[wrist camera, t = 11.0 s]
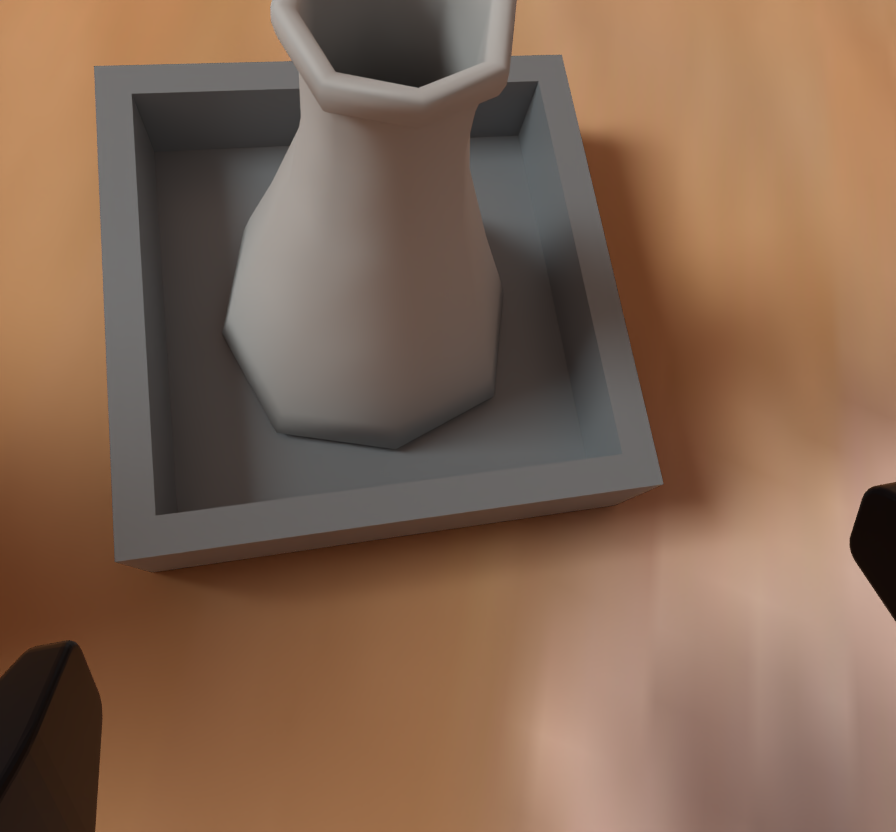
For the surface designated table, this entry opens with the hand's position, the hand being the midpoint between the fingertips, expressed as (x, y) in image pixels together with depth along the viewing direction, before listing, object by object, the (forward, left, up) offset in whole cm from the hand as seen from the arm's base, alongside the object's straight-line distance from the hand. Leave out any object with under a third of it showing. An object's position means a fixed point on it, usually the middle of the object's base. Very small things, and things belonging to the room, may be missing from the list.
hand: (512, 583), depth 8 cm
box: (0, +7, -10) cm, 13 cm away
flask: (0, +7, -9) cm, 12 cm away
